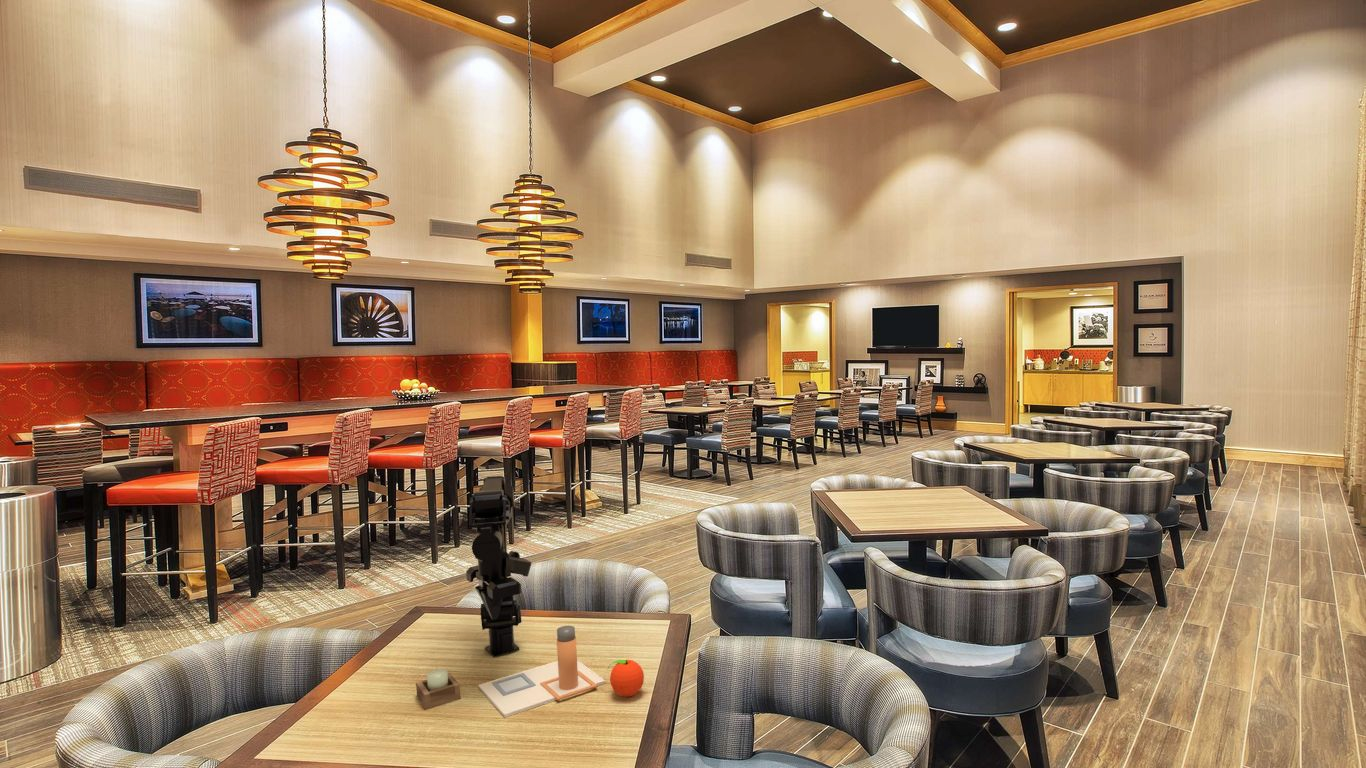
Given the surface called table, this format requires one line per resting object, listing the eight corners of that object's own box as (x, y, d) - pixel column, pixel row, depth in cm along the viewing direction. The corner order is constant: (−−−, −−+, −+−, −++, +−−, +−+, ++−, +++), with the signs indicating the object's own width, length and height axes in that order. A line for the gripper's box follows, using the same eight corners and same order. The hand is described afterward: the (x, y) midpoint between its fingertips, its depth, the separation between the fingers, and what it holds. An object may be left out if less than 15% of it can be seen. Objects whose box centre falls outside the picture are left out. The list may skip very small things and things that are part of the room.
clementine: (600, 699, 138) (598, 664, 138) (615, 684, 144) (614, 651, 144) (635, 705, 135) (634, 669, 135) (650, 689, 141) (648, 655, 141)
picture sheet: (478, 687, 145) (478, 683, 145) (572, 658, 158) (572, 654, 158) (507, 720, 131) (507, 716, 131) (608, 685, 144) (608, 681, 143)
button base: (416, 696, 143) (416, 682, 143) (450, 686, 147) (450, 672, 147) (425, 709, 137) (424, 694, 137) (460, 698, 141) (459, 684, 141)
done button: (425, 692, 142) (424, 673, 142) (445, 686, 144) (444, 667, 144) (430, 699, 139) (429, 679, 139) (450, 693, 141) (449, 674, 141)
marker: (555, 688, 142) (552, 631, 142) (565, 680, 146) (562, 624, 145) (572, 691, 141) (569, 633, 140) (581, 682, 144) (579, 626, 144)
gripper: (542, 549, 146) (546, 621, 146) (511, 534, 161) (514, 599, 162) (491, 560, 140) (495, 635, 140) (463, 543, 155) (467, 611, 155)
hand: (494, 619), depth 150 cm, fingers closed
